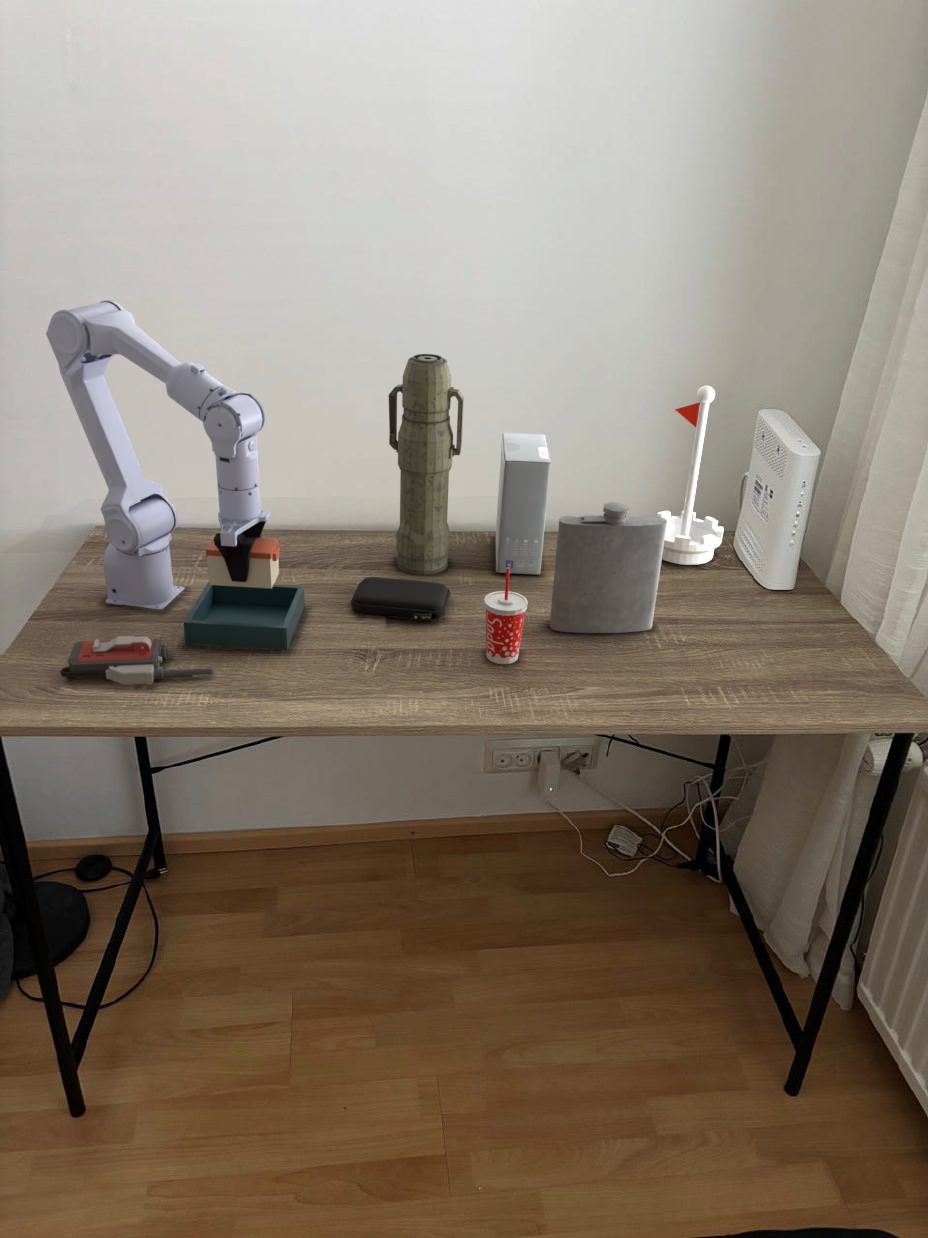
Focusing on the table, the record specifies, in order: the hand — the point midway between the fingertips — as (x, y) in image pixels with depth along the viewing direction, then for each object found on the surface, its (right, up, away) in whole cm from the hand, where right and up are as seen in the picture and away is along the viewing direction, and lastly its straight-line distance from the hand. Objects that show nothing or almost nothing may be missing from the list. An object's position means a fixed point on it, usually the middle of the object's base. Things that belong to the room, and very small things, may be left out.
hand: (244, 572), depth 148 cm
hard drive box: (+41, +4, +30) cm, 51 cm away
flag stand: (+71, +5, +35) cm, 79 cm away
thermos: (+25, +2, +26) cm, 36 cm away
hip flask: (+53, -8, +8) cm, 54 cm away
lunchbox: (0, -1, +1) cm, 1 cm away
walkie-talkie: (-12, -14, -8) cm, 20 cm away
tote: (0, -8, +4) cm, 9 cm away
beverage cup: (+37, -12, -1) cm, 39 cm away
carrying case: (+22, -5, +11) cm, 25 cm away
